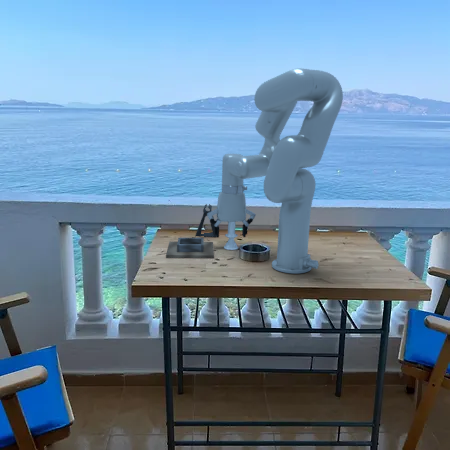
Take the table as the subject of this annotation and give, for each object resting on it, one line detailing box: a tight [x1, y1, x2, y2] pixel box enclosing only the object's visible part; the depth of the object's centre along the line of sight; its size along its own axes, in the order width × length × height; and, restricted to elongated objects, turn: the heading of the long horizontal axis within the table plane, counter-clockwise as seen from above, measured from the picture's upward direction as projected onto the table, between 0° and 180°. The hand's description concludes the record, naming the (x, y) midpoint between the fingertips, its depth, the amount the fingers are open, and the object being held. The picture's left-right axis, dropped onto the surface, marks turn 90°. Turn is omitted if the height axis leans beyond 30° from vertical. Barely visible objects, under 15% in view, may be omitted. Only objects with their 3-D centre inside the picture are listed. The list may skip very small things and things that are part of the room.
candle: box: [223, 222, 239, 251], centre depth 164 cm, size 5×5×12 cm
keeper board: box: [165, 237, 215, 259], centre depth 160 cm, size 16×16×4 cm
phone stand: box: [194, 203, 217, 238], centre depth 180 cm, size 9×6×12 cm, turn 88°
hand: (230, 236), depth 164 cm, fingers open, 9 cm apart
